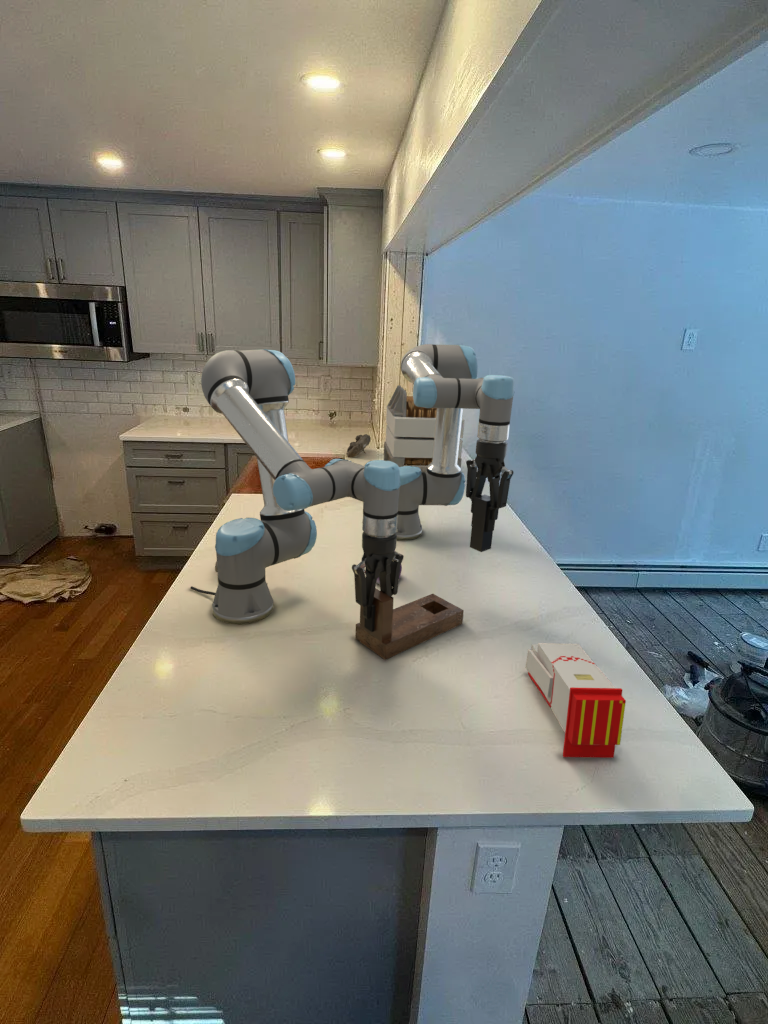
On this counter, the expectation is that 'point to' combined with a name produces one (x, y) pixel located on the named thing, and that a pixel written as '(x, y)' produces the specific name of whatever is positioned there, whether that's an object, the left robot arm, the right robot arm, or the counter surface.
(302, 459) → the left robot arm
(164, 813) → the counter surface
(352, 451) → the fossil
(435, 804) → the counter surface
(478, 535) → the peg
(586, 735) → the toy
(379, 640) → the peg board
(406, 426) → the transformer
